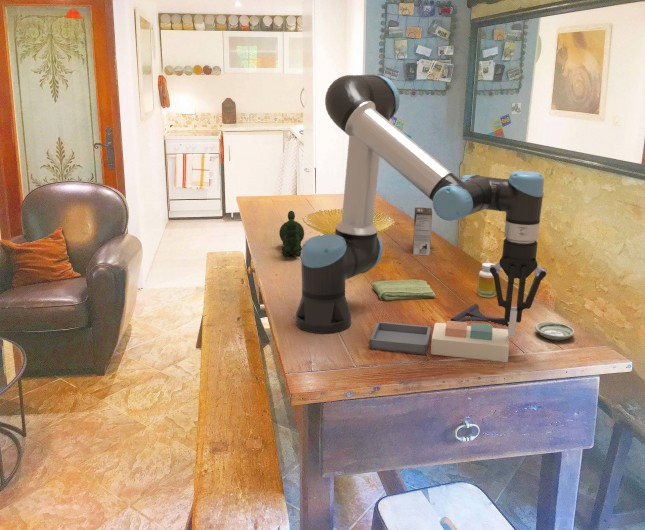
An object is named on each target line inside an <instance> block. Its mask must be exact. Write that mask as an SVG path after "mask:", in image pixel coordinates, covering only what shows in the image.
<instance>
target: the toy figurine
mask: <svg viewBox="0 0 645 530" xmlns="http://www.w3.org/2000/svg"><path fill="white" fill-rule="evenodd" d="M287 213H288V214H287V219H288V220H287V221H286V222H284V223H283V224H282V225H281V226H280V228H279V231H278V232H279V238H280V241H282V247H281V249H282V250H281V251H282V256H284V257H285V258H288V257H289V256H294V257H297V258H298V257H301V255H302V245H301V244H302V242H303V239H304V238H305V230H304V227H303V225H302V224H301V223H300V222H298V221H296V220H295V217H296V215H295V214H296V213H295V212H294V211H293V210H290V211H288V212H287Z"/></svg>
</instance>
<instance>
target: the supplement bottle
mask: <svg viewBox="0 0 645 530" xmlns="http://www.w3.org/2000/svg"><path fill="white" fill-rule="evenodd" d="M491 265H495V263H493V262H483V263H481V270H480V271H479V273H478V283H477V295H478V296H479V297H481V298H482V297H483V298H494V297H495V296H497V294H496V288H495V282H494V277H493V275H492V274H491V272H490V266H491Z"/></svg>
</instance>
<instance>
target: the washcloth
mask: <svg viewBox="0 0 645 530" xmlns="http://www.w3.org/2000/svg"><path fill="white" fill-rule="evenodd" d="M371 287H372V289H373V290H374V291H375V293H376V294H377V295H378V298H379V300H381V301H383V302H384V301H385V302H386V301H408V300H419V299H420V300H421V299H433V298H436V294H435V292H434V291H433V289H432V288H431V285H430V284H428V283H427V281H426V280H424V279H414V278H413V279H401V280H400V279H399V280H378V281H375V282H373V283H372V284H371Z"/></svg>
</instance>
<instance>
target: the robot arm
mask: <svg viewBox="0 0 645 530" xmlns="http://www.w3.org/2000/svg"><path fill="white" fill-rule="evenodd" d="M324 102H325V103H324V105H325V110H326V111H327V114H328V116H329V118H330V119H331V121H332V122H333V123H334V124H335V126H337V127H338V128H339V129H340V130H342V132H344V133H345V134H346V135H347V136H348V145H347V159H346V168H345V169H346V170H345V177H344V179H345V180H344V191H343V203H342V204H343V205H342V215H341V221H339V222H338V223H336V225H335V230H334V231H335V234H331V233H330V234H329V233H327V234H326V233H325V234H322V235H319V234H318V235H315V236H312V237H310V238H308V239H307V240H305V241H304V242H303V244H302V245H301V247H302V250H301V255H300V262H301V298H300V301H299V304H298V307H297V309H296V314H295V324H296V326H297V327H298V328H299V329H301V330H303V331H305V332H308V333H315V334H317V333H319V334H331V333H332V334H333V333H338V332H342V331H345V330H347V329H348V328H350V327H351V325H352V313H351V309H350V306H349V303H348V301H347V298H346V280H348V279H351V278H353V277H356V276H358V275H360V274H364V273H368V272H369V271H371V270H372V269H373V268H375V267H377V265H378V264H379V262H380V261H381V259H382V256H383V253H384V249H383V248H384V247H383V242H382V241H381V240H380V236H379V235H378V228H377V226H375V224H374V215H375V214H374V213H375V206H376V196H377V195H376V194H377V186H378V177H379V167H380V158H381V159H382V160H384V161H385V162H386V163H387V164H388V165H390V167H392V168H393V169H394V170H395V171H397V172H398V173H399V174H400V175H401V176H402V177H404V179H406V180H407V181H408V182H410V183H411V185H413V186H414V187H415V188H416V189H418V190H419V191H420V193H422V194H424V195H425V196H426V197H427V198H428V199H429V200H430V201H432V207H433V209H434V212H435V214H436V215H437V216H438V217H439V218H440V219H442V220H444V221H448V222H450V221H456V220H462V219H464V218H466V217H468V216H470V215H472V214H475V213H479V212H481V211H483V210H488V211H489V210H490V211H497V212H505V219H504V220H505V221H504V231H503V232H504V234H503V236H504V240H503V245H502V254H501V257H500V259H499V261H498V263H496V264H495V263H494V264H495V265H491V266H490V272H491V274H492V275H493V277H494V282H495V288H496V299H497V305H498V306H499V307H502V308H503V309H504V317H503V318H505V321H507V322H508V324H509V325H508V326H507V329H508V336H509V337H515V336H516V335H515V334H516V326H517V323H519V324H520V323H521V321H522V316H523V315H522V314H523V311H524V310H526V309H531V308H532V305H533V303H534V299H535V297H536V294H537V292H538V290H539V287H540V284H541V282H542V281H543V279H544V278H545V277H546V276H547V271H546V269H545V268H542V267H540V266H539V265H538V262H537V252H538V251H537V250H538V242H537V240H538V239H539V233H540V224H541V223H540V222H541V214H542V207H543V206H542V205H543V198H544V184H545V183H544V182H545V179H544V175H543V174H542V173H540V172H537V171H532V170H516V171H512V172H511V173H510V174H509V176H508V178H501V177H500V178H499V177H493V176H491V177H490V176H485V175H480V174H474V175H473V174H465V175H462V177H460V178H459V177H458V176H456V175H455V174H454V173H453V172H452V171H450V170H449V169H448V168H447V167H445V166H444V165H443V164H442V163H441V162H439V160H437V159H436V158H434V157H433V156H432V155H431V154H430V153H429V152H427V151H426V150H425V149H424V148H422V147H421V146H420V145H419V144H418V143H416V142H415V141H414V140H412V139H411V138H410V137H409V136H408V135H406V134H405V132H403V131H402V130H400V129H399V128H398V127H397V126H395V124H393V123H392V122H391V121H390V120H391V119H392V118H393V117H394V116H395V115H396V114H397V112H398V111H399V108H400V93H399V91H398V88H397V86H396V85H395V84H394V83H393V81H392V80H391V79H390V78H388V77H386V76H383V75H378V74H360V75H359V74H357V75H355V74H354V75H353V74H347V75H343V76H340V77H338V78H337V79H335V80H334V81H333V82H332V83H331V84H330V85H329V87H328V88H327V91H326V93H325V98H324ZM501 269H502V270H503V272H504V273H505V275H506V277H507V285H506V286H507V287H506V294H505V295H506V297H505V300H504V298H503V297H504V296H503V291H502V285H501V284H502V283H501V279H500V273H501ZM533 272H534V278H533V280H532V283H531V286H530V288H529V291H528V294H527V296H526V299H524V297H525V290H526V289H525V287H526V279H528V278H529V276H530V275H531V274H532V273H533ZM515 279H518V288H517V289H518V290H517V300H516V306H512V302H513V293H514V283H515ZM524 300H525V301H524Z"/></svg>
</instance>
